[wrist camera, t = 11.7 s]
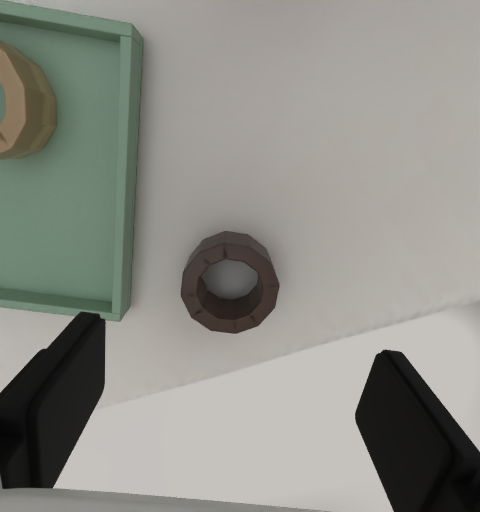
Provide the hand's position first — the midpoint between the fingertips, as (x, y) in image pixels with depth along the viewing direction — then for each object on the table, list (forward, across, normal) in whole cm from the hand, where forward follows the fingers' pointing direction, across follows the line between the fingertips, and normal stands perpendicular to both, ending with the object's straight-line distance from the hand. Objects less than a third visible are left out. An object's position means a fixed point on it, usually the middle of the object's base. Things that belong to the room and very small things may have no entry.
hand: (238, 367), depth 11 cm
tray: (+12, +15, -3) cm, 19 cm away
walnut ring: (+12, 0, +2) cm, 12 cm away
